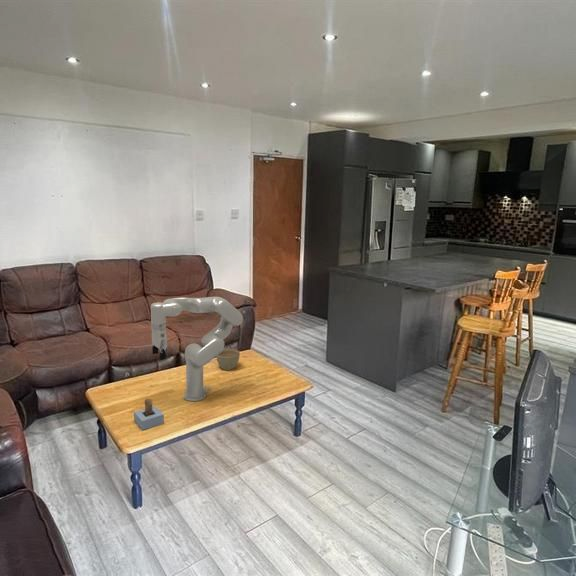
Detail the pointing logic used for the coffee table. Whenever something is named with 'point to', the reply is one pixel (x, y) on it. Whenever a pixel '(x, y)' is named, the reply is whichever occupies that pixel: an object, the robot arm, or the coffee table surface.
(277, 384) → the coffee table surface
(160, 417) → the socket block
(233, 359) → the planter bowl
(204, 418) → the coffee table surface
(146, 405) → the peg
